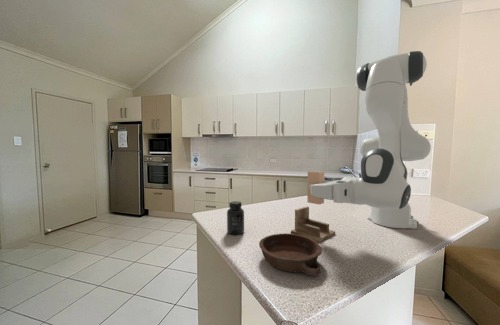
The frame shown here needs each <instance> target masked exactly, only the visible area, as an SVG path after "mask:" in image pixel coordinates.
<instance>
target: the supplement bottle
mask: <svg viewBox="0 0 500 325" xmlns="http://www.w3.org/2000/svg"><path fill="white" fill-rule="evenodd" d="M228 204H229V206H228V207H229V208H228V209H227V211H226V224H227V225H226V232H227V234H228V235H231V236H239V235H242V234H243V233H244V232H245V210H244V209H243V208H242V206H243V205H242V201H239V200H237V201H235V200H234V201H230V202H229V203H228Z"/></svg>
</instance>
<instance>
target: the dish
mask: <svg viewBox="0 0 500 325" xmlns="http://www.w3.org/2000/svg"><path fill="white" fill-rule="evenodd" d="M258 246H259V248H260V250H261V252H262V255H263V258H264V259H265V260H264V261H266V263H268V264H269V265H270V266H272V267H273V268H276V269H278V270H281V271H283V272H289V273H304V274H306V275H308V276H312V277H317V276H319V275H320V273H321V265H320V263H319V261H318V258H319V256H321V254H322V253H323V248H322V246H321V245H320V244H319V243H318V242H316V241H314V240H312V239H311V238H308V237H305V236H301V235H297V234H293V233H275V234H270V235H267V236H265V237H263V238H262V239H260V240H259V243H258Z"/></svg>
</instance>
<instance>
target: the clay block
mask: <svg viewBox="0 0 500 325" xmlns="http://www.w3.org/2000/svg"><path fill="white" fill-rule="evenodd" d="M320 183H325V171H318V170H317V171H316V170H315V171H314V170H311V171H307V200H306V201H307V203H309V204H314V205H322V204H324V203H325V199H323V198H319V197H315V196H313V195H311V189H309V184H320Z"/></svg>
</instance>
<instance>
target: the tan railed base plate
mask: <svg viewBox="0 0 500 325" xmlns="http://www.w3.org/2000/svg"><path fill="white" fill-rule="evenodd" d="M290 234H297V235H301V236H305V237H308V238H311V239H312V240H314V241H316V242H317V243H318V244H319V243H320V242H323V241H324V240H326V239H329V238H330V237H332V236H335V235H336V231H334V230H331V229H330V223H326V222H323V221H318V220H316V219H312V218H310V207H309V206H308V205H307V206H303V207H299V208H296V209H294V229H291V230H290Z"/></svg>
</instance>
